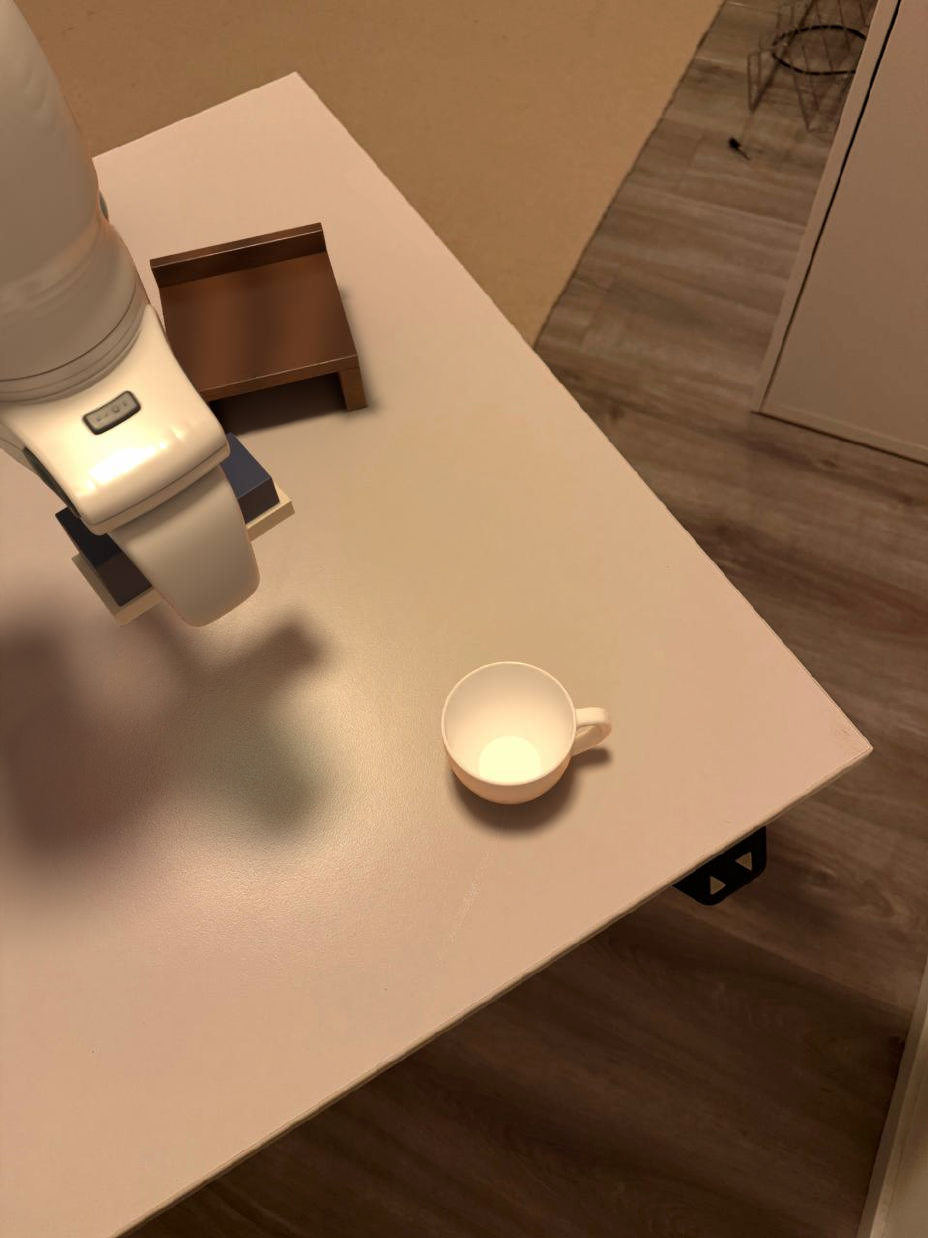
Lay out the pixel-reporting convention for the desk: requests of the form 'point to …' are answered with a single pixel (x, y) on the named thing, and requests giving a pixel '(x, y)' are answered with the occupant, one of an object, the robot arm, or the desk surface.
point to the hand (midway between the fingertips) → (152, 535)
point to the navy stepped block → (121, 577)
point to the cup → (515, 731)
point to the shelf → (258, 314)
